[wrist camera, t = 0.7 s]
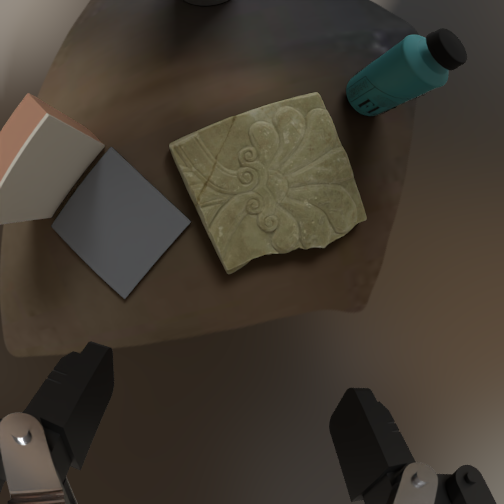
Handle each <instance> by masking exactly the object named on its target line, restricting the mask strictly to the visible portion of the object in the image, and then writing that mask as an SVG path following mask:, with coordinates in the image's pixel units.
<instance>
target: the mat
mask: <svg viewBox="0 0 504 504" xmlns="http://www.w3.org/2000/svg"><path fill="white" fill-rule="evenodd" d="M190 223H191V221H190V220H189V219H188V218H187V217H186V216H185V215H184V214H183V213H182V212H180V211H179V210H178V209H177V208H176V207H175V206H174V205H173V204H172V203H171V202H170V201H169V200H168V199H166V198H165V197H164V196H163V195H162V194H161V193H160V192H159V191H158V190H157V189H156V188H155V187H154V186H153V185H151V184H150V183H149V182H148V181H147V180H146V179H145V178H144V177H143V176H142V175H141V174H140V173H139V172H138V171H137V170H136V169H135V168H133V167H132V166H131V165H130V164H129V163H128V162H127V161H126V160H125V159H124V158H123V157H122V156H121V155H120V154H119V153H118V152H117V151H116V150H115V149H113V148H112V147H110V148H109V149H108V151H107V152H106V153H105V154H104V155H103V157H102V158H101V159H100V160H99V161H98V163H97V164H96V165H95V166H94V167H93V169H92V170H91V171H90V173H89V174H88V175H87V176H86V178H85V179H84V180H83V182H82V183H81V184H80V185H79V187H78V188H77V190H76V191H75V192H74V194H73V195H72V196H71V198H70V199H69V201H68V202H67V203H66V205H65V206H64V208H63V209H62V211H61V212H60V213H59V215H58V216H57V218H56V219H55V221H54V222H53V224H52V226H51V227H52V228H53V229H54V230H55V231H56V232H57V233H58V234H59V235H60V237H61V238H62V239H63V240H64V241H65V242H66V243H67V244H68V245H69V246H70V247H71V248H72V249H73V250H74V251H75V252H76V253H77V254H78V255H79V256H80V257H81V258H82V259H83V260H84V261H85V262H86V263H87V264H88V265H89V266H90V267H91V268H92V269H93V270H94V271H95V272H96V273H97V274H98V275H99V276H100V277H101V278H102V279H103V280H104V281H105V282H106V283H107V284H108V285H110V286H111V287H112V288H113V289H114V290H115V291H116V292H117V293H118V294H119V295H120V296H122V297H123V298H124V299H125V298H126V297H127V296H128V295H129V293H130V292H131V291H132V290H133V289H134V287H135V286H136V285H137V284H138V282H139V281H140V280H141V279H142V278H143V276H144V275H145V274H146V273H147V272H148V271H149V269H150V268H151V267H152V266H153V265H154V263H155V262H156V261H157V260H158V259H159V258H160V256H161V255H162V254H163V253H164V252H165V251H166V250H167V248H168V247H169V246H170V245H171V244H172V243H173V242H174V240H175V239H176V238H177V237H178V236H179V235H180V234H181V233H182V231H183V230H184V229H185V228H186V227H187V226H188V225H189V224H190Z"/></svg>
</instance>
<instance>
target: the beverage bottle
mask: <svg viewBox="0 0 504 504" xmlns="http://www.w3.org/2000/svg"><path fill="white" fill-rule="evenodd" d="M466 60H467V54H466V51H465V48H464V46H463V44H462V43H461V41H460V40H459V39H458V37H457V36H456V35H455V34H453V33H452V32H451V31H449V30H447V29H439V30H437V31H435V32H432V33H430V34H428V35H427V37H426V38H424V37H422V36H419V35H409V36H407V37H405V38H404V40H402V41H401V42H400V43H398V44H397V45H395V46H394V47H393V48H391V49H390V50H389V51H387V52H386V53H385V54H383V55H382V56H381V57H379V58H378V59H376V60H375V61H374V62H372V61H371V62H372V63H371V64H370V65H368V66H367V67H366V66H365V67H366V68H364V69H363V70H362V69H361V71H359V73H358V72H357V73H356V75H355V76H354V77H353V78H352V79H351V80H350V81H349V82H348V85H347V88H346V94H347V98H348V101H349V103H350V104H351V106H352V107H353V108H354V109H355V110H356V111H357V112H359V113H360V114H363V115H366V116H371V117H375V115H377V116H378V114H380V113H382V114H383V112H384V113H385V111H386V112H387V111H389V110H391V109H393V108H396V107H395V106H397V105H400V104H402V103H403V104H404V103H405V102H406V101H408V100H410V101H412V100H411V99H413V98H415V97H416V98H417V97H418V96H420V95H423V94H424V93H426V92H428V91H430V90H432V89H434V88H438V87H441V86H443V85H444V84H445V83H446V82H447V80H448V70H454V69H456V68H457V67H459V66H460V65H462V64H464V63H465V62H466ZM416 98H415V99H416Z"/></svg>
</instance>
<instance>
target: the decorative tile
mask: <svg viewBox="0 0 504 504" xmlns="http://www.w3.org/2000/svg"><path fill="white" fill-rule="evenodd" d="M169 149H170V151H171V154H172V156H173V159H174V161H175V164H176V166H177V168H178V170H179V172H180V174H181V177H182V179H183V182H184V184H185V187H186V189H187V191H188V193H189V195H190V197H191V199H192V201H193V203H194V205H195V208H196V210H197V212H198V214H199V216H200V219H201V221H202V224H203V226H204V228H205V230H206V232H207V234H208V236H209V238H210V240H211V242H212V244H213V246H214V249H215V251H216V253H217V255H218V257H219V259H220V261H221V263H222V265H223V267H224V269H225V271H226V272H227V274H231V273H233V272H235V271H237V270H238V269H240V268H242V267H243V266H244V265H246V264H247V263H248V262H250V260H251V259H253V258H257V257H260V256H263V255H265V254H267V255H271V254H278V253H280V254H282V253H289V252H290V251H292V250H295V249H297V248H302V249H309V248H314V247H316V248H325V247H326V246H327V245H328V244H329V243H331V242H333V241H334V240H336V239H338V238H340V237H342V236H344V235H345V234H347V233H348V232H349V231H350V230H351V229H352V228H353V227H354V226H355V225H356V224H358V223H359V222H362V221H365V220H366V214H365V210H364V207H363V204H362V201H361V197H360V194H359V191H358V189H357V186H356V183H355V180H354V176H353V171H352V168H351V166H350V162H349V159H348V157H347V154H346V152H345V150H344V148H343V147H342V144H341V142H340V140H339V138H338V135H337V132H336V129H335V126H334V124H333V121H332V119H331V117H330V115H329V113H328V111H327V110H326V108H325V106H324V103H323V101H322V98H321V96H320V95H319V94H318V93H317V92H315V93H310V94H306V95H302V96H298V97H294V98H290V99H286V100H283V101H279V102H275V103H272V104H269V105H265V106H262V107H259V108H256V109H253V110H250V111H248V112H245V113H242V114H239V115H236V116H232V117H229V118H227V119H224V120H222V121H219V122H217V123H214V124H212V125H209V126H207V127H205V128H202V129H200V130H198V131H196V132H193V133H191V134H189V135H186V136H184V137H182V138H180V139H178V140H176V141H174V142H172V143H170V144H169Z"/></svg>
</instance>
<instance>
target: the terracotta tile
mask: <svg viewBox="0 0 504 504" xmlns="http://www.w3.org/2000/svg"><path fill="white" fill-rule="evenodd" d="M104 147H105V145H104V144H103V143H102V142H101V141H100V140H99V139H98V138H97V137H96V136H95V135H94V134H93V133H92V132H91V131H89V130H88V129H87V128H86V127H84V126H83V125H81V124H79V123H78V122H76V121H74V120H73V119H71V118H70V117H68V116H66V115H65V114H63V113H61V112H60V111H58V110H56V109H55V108H53V107H51V106H50V105H48V104H46V103H45V102H43V101H41V100H40V99H38V98H36V97H35V96H33V95H31V94H29V93H28V94H27V95H26V96H25V98H24V99H23V101H21V103H20V104H19V106H18V107H17V108H16V110H15V111H14V113H13V114H12V115H11V117H10V118H9V120H8V121H7V123H6V124H5V125H4V127H3V129H2V130H1V132H0V225H1V224H8V223H15V222H22V221H30V220H37V219H45V218H52V216H53V215H54V213H55V212H56V210H57V209H58V207H59V206H60V204H61V203H62V201H63V200H64V198H65V197H66V196H67V194H68V193H69V191H70V190H71V189H72V187H73V186H74V185H75V183H76V182H77V181H78V179H79V178H80V177H81V175H82V174H83V173H84V171H85V170H86V169H87V168H88V166H89V165H90V164H91V163H92V161H93V160H94V159H95V158H96V157H97V155H98V154H99V153H100V152H101V151H102V149H103V148H104Z"/></svg>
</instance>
